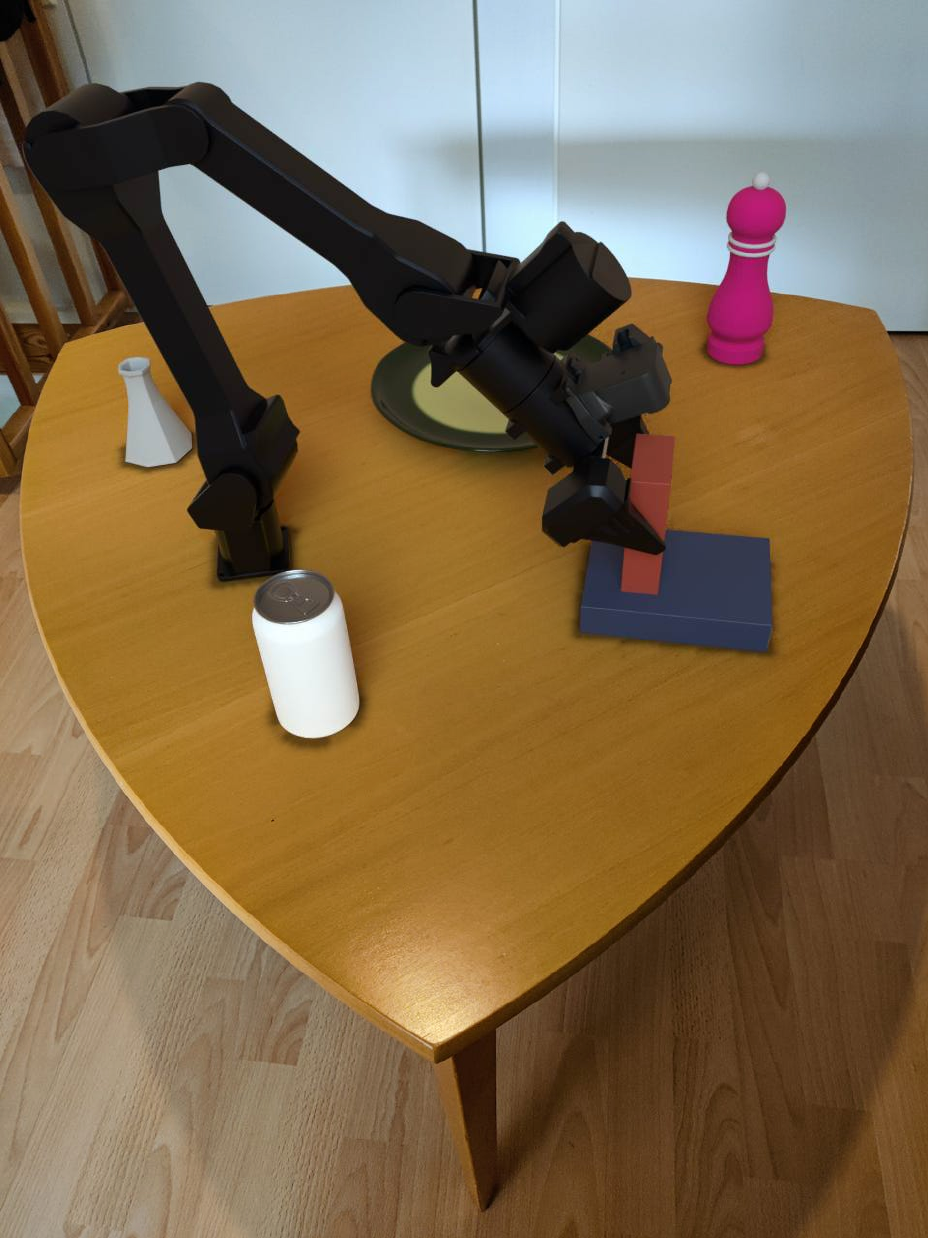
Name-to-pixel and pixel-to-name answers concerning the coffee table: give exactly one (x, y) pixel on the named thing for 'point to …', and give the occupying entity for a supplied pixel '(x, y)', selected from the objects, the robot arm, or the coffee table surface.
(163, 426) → the flask
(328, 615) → the can
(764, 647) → the navy hardcover
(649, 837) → the coffee table surface
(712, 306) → the pepper mill
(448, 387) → the plate
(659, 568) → the red rectangular block
